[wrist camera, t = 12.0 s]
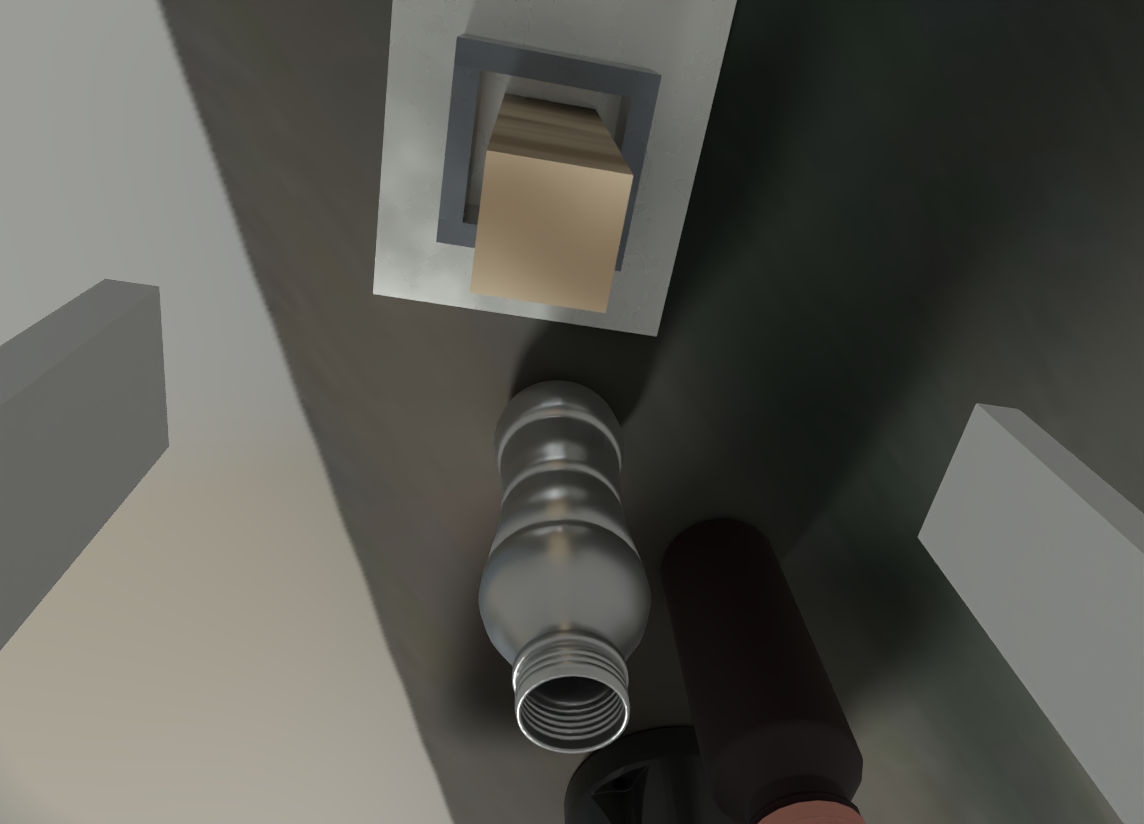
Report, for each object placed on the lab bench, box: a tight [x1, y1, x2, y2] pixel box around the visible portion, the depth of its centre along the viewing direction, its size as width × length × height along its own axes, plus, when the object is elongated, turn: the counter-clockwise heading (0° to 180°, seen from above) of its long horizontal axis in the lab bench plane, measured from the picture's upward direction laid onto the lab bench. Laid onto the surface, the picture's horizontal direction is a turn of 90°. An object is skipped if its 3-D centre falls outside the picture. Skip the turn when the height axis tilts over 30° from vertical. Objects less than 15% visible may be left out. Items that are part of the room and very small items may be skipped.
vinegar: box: [662, 519, 865, 824], centre depth 39 cm, size 7×7×20 cm
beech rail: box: [470, 93, 633, 313], centre depth 29 cm, size 4×4×15 cm
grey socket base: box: [373, 0, 737, 337], centre depth 35 cm, size 16×14×4 cm
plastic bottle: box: [478, 380, 651, 754], centre depth 34 cm, size 6×7×20 cm
